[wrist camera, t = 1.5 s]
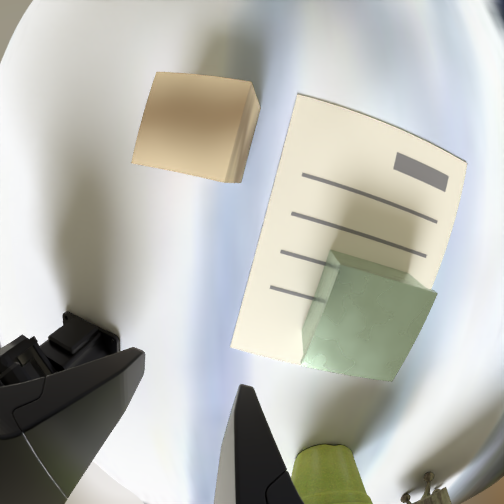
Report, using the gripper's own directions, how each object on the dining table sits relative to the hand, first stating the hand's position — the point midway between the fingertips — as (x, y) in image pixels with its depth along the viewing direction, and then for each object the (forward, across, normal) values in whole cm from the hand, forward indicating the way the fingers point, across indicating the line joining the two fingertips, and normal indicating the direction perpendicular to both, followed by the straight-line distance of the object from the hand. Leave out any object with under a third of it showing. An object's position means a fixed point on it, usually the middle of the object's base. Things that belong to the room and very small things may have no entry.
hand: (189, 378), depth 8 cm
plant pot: (+11, -13, +18) cm, 25 cm away
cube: (+11, +4, -8) cm, 14 cm away
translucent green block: (+11, -8, 0) cm, 14 cm away
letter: (+11, -7, -3) cm, 13 cm away
